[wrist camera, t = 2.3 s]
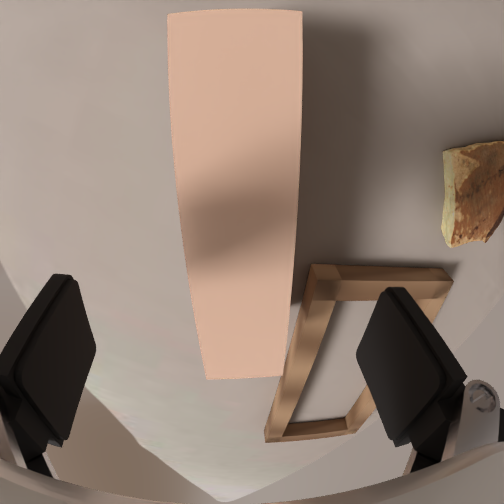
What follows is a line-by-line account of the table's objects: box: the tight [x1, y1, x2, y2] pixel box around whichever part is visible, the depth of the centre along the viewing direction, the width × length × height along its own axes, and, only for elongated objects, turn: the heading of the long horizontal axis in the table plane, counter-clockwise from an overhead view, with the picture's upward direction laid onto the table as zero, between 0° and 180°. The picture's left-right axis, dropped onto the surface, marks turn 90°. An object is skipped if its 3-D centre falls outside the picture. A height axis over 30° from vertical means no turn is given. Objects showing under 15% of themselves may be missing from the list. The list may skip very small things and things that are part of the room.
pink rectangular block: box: [167, 9, 303, 379], centre depth 13 cm, size 16×4×6 cm, turn 0°
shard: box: [441, 141, 504, 248], centre depth 15 cm, size 11×8×2 cm
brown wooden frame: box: [264, 264, 454, 443], centre depth 23 cm, size 22×10×2 cm, turn 174°
